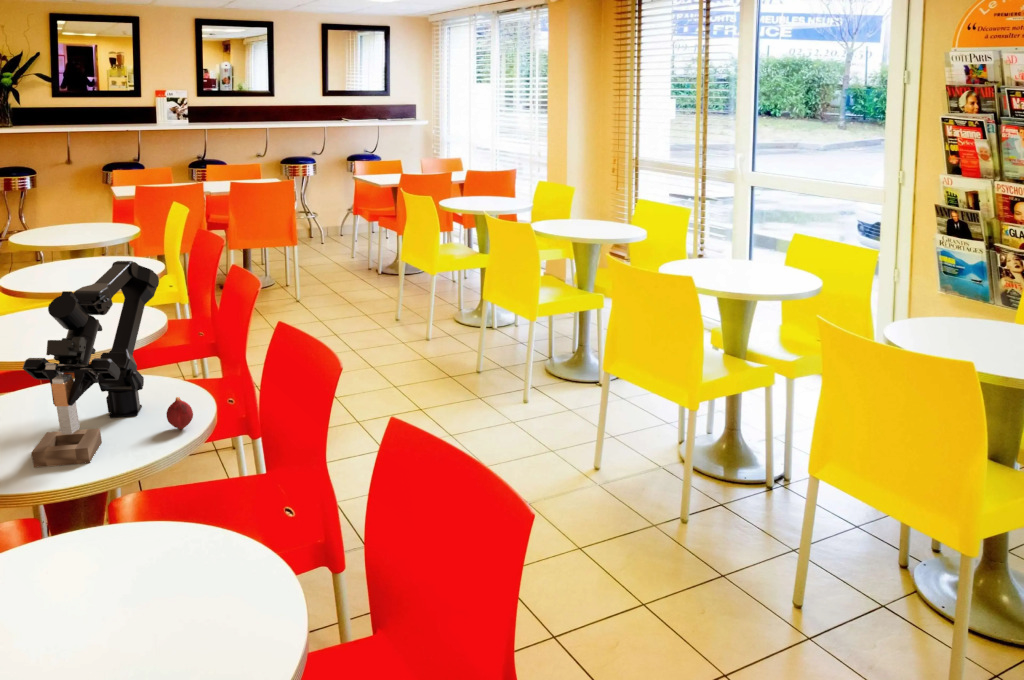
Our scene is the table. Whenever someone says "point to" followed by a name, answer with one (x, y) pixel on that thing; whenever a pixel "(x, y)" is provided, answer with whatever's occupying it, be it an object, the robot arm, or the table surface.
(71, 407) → the banded grey brick
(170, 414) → the onion
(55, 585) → the table surface
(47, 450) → the block
